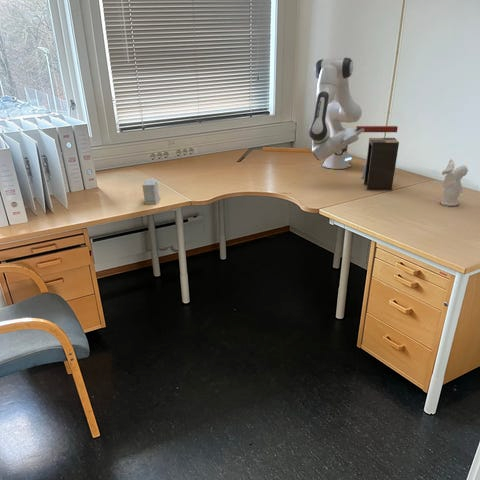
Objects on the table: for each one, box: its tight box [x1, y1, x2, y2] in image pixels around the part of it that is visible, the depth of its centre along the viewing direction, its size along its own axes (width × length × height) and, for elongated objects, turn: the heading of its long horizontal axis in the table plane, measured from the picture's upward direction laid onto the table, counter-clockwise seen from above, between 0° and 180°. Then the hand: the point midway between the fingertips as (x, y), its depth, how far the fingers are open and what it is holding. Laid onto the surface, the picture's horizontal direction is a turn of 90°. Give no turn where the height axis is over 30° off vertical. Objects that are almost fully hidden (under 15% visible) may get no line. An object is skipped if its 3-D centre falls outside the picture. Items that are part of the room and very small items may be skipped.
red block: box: [355, 125, 399, 133], centre depth 264 cm, size 3×22×3 cm, turn 86°
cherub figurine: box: [440, 158, 469, 207], centre depth 246 cm, size 12×12×22 cm
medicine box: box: [361, 163, 366, 180], centre depth 291 cm, size 8×4×9 cm, turn 47°
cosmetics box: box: [142, 179, 160, 205], centre depth 260 cm, size 10×6×10 cm, turn 178°
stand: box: [363, 137, 400, 191], centre depth 272 cm, size 12×14×26 cm
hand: (363, 128), depth 264 cm, fingers closed on red block, 3 cm apart
